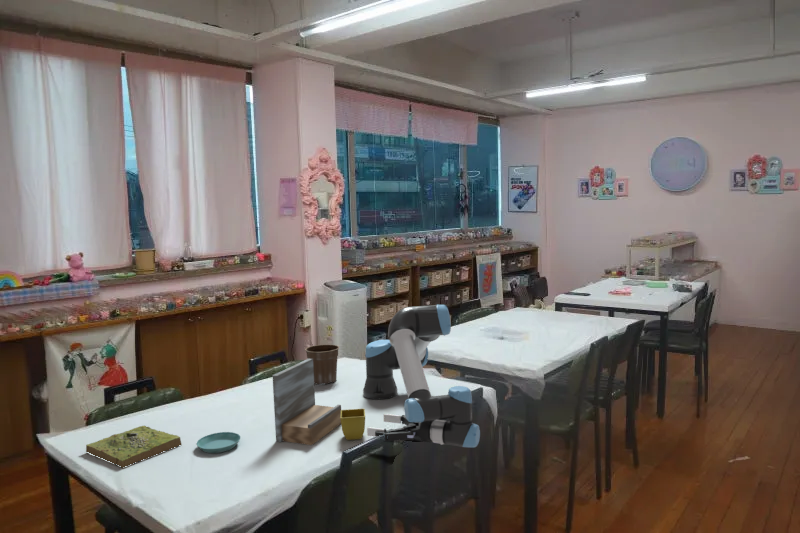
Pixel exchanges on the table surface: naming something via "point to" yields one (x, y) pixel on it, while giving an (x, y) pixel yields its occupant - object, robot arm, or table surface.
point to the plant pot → (323, 362)
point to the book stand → (301, 406)
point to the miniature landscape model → (133, 445)
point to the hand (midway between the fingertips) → (376, 424)
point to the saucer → (218, 442)
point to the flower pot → (353, 423)
